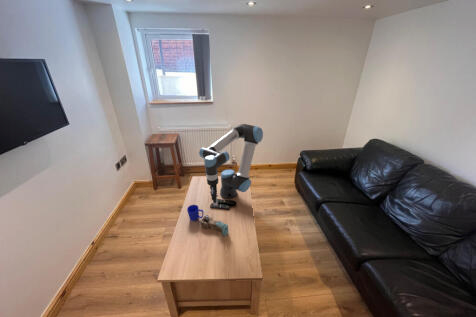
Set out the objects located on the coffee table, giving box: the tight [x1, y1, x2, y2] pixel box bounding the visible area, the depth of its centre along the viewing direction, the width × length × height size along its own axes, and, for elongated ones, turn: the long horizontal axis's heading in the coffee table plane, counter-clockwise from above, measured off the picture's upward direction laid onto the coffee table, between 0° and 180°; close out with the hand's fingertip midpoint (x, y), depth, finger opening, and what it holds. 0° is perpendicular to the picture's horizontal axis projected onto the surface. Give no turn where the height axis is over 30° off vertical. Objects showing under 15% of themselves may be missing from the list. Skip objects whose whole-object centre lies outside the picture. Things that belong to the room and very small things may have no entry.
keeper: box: [216, 220, 229, 237], centre depth 133 cm, size 4×8×7 cm, turn 57°
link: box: [199, 215, 222, 232], centre depth 138 cm, size 16×6×5 cm, turn 69°
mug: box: [186, 204, 204, 222], centre depth 145 cm, size 8×12×10 cm
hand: (215, 204), depth 138 cm, fingers closed
